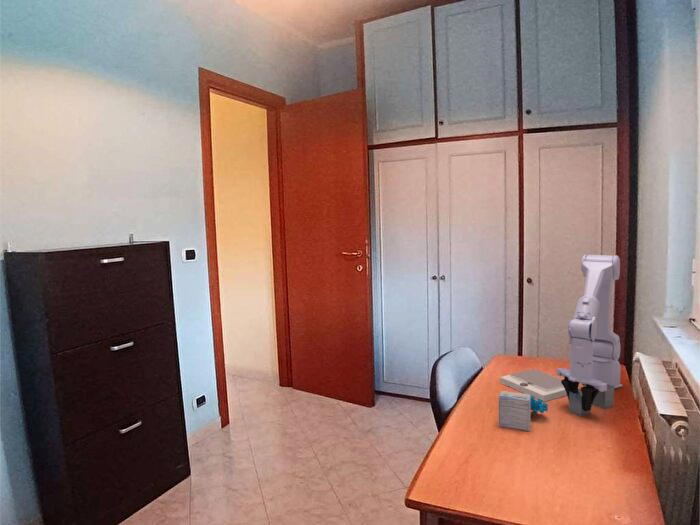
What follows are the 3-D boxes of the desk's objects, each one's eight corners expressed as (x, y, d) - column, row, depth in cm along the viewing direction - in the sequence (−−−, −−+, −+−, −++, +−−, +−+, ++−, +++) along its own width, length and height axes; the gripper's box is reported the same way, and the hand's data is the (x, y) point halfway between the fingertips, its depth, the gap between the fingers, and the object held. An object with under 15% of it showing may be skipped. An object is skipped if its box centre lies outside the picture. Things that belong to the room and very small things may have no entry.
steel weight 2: (601, 401, 137) (601, 382, 137) (613, 406, 134) (614, 386, 133) (592, 404, 136) (592, 384, 135) (604, 409, 132) (605, 389, 131)
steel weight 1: (578, 408, 133) (578, 388, 132) (590, 413, 129) (591, 393, 129) (568, 411, 131) (569, 391, 131) (581, 416, 128) (581, 396, 127)
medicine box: (530, 424, 124) (531, 394, 123) (529, 432, 120) (530, 400, 119) (500, 420, 127) (500, 390, 126) (498, 427, 123) (498, 396, 122)
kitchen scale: (530, 375, 160) (530, 367, 160) (575, 392, 144) (575, 384, 144) (500, 382, 154) (500, 374, 154) (543, 402, 138) (543, 393, 138)
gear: (554, 410, 128) (540, 393, 123) (550, 430, 125) (536, 413, 120) (516, 405, 136) (502, 388, 131) (511, 423, 133) (497, 407, 128)
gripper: (549, 356, 133) (548, 400, 135) (595, 371, 120) (593, 420, 122) (566, 352, 137) (565, 396, 138) (612, 366, 124) (610, 414, 125)
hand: (579, 407), depth 130 cm, fingers closed on steel weight 1, 4 cm apart
